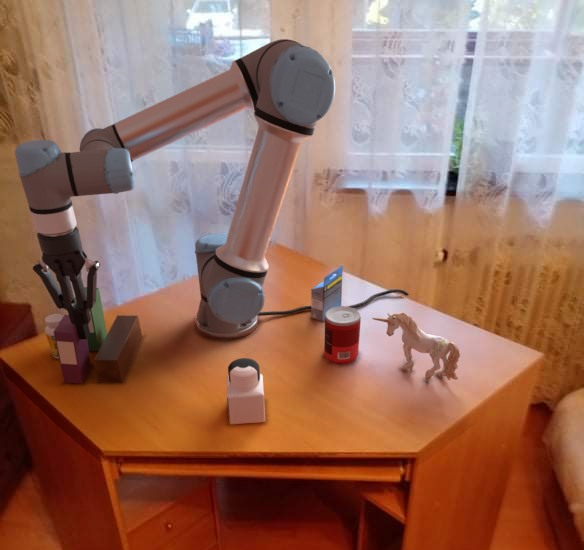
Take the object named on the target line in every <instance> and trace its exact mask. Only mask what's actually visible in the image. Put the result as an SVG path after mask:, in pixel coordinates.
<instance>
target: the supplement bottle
mask: <svg viewBox="0 0 584 550" xmlns="http://www.w3.org/2000/svg"><path fill="white" fill-rule="evenodd" d="M63 317H64V315H63V314H62V313H53V314H49V315H47V316H46V317H45V318H44V322H45V325H46V326H45V328H44V333H45V336H46V339H47V342H48V345H49V348H50V351H51V354H52V357H54V358H55V359H58V360H59V356H58V351H57V346H56V341H55V336H54V330H55V329H56V327H57V326H58V324H59V323H60V321H61V320H62V318H63Z"/></svg>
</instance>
